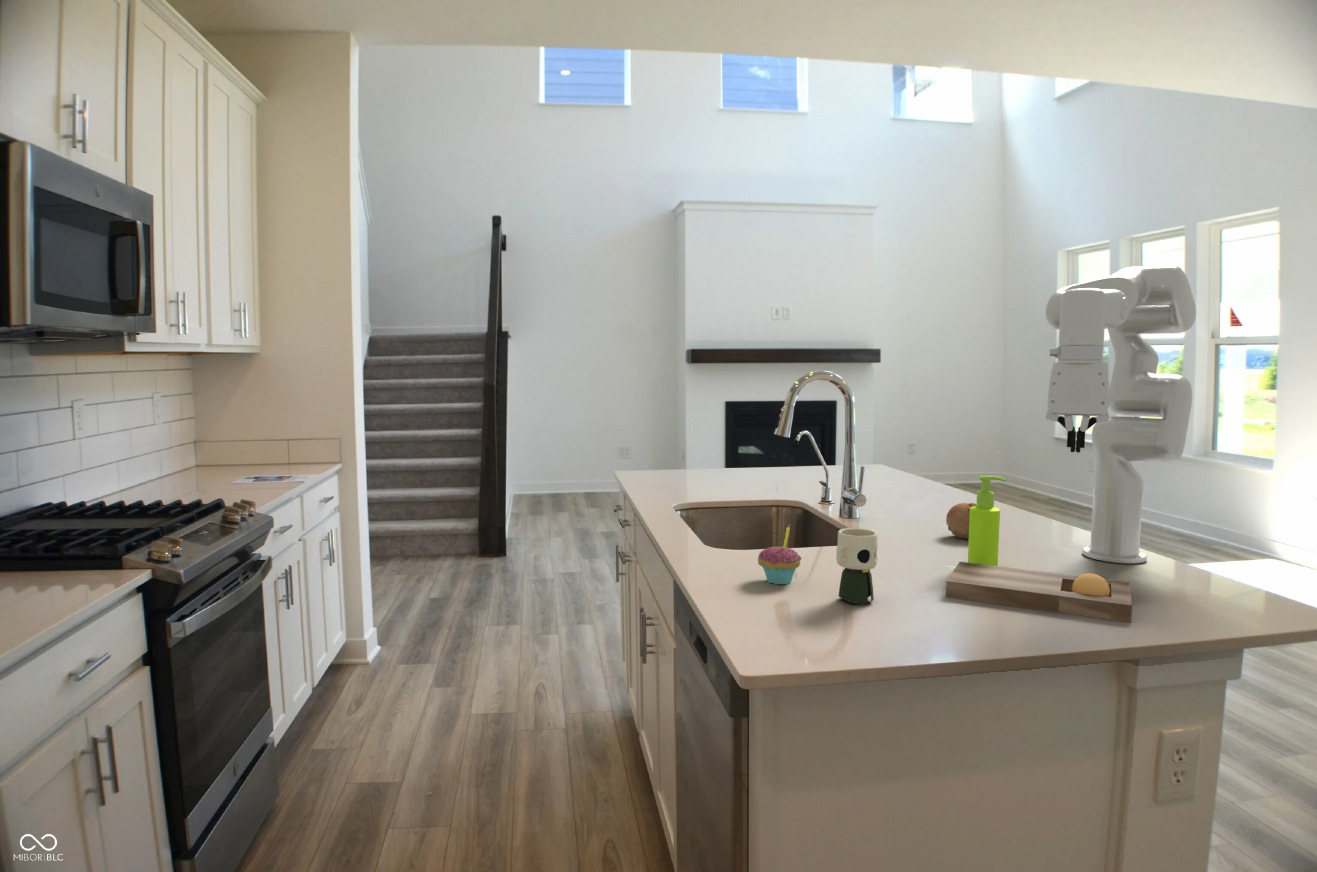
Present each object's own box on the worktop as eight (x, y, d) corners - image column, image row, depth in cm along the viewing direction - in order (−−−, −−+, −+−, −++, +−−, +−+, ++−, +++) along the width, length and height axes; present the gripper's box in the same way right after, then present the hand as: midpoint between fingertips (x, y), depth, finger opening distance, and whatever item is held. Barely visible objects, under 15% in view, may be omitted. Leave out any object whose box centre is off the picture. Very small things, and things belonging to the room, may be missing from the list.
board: (959, 575, 162) (959, 561, 162) (1128, 597, 148) (1129, 581, 148) (945, 596, 149) (946, 580, 148) (1131, 622, 134) (1132, 605, 134)
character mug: (852, 611, 140) (853, 539, 138) (821, 601, 145) (822, 532, 144) (890, 600, 146) (892, 531, 145) (859, 591, 152) (861, 524, 151)
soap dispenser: (1005, 573, 164) (1009, 478, 162) (970, 572, 165) (974, 477, 163) (999, 566, 170) (1003, 474, 168) (965, 564, 171) (968, 473, 169)
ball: (1092, 576, 139) (1099, 563, 143) (1061, 588, 143) (1069, 575, 147) (1113, 605, 138) (1120, 591, 142) (1082, 617, 142) (1089, 603, 146)
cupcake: (805, 578, 160) (806, 520, 159) (793, 589, 153) (794, 529, 152) (764, 573, 164) (765, 517, 163) (751, 584, 156) (752, 525, 155)
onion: (980, 552, 194) (998, 519, 190) (943, 541, 194) (961, 509, 189) (971, 530, 203) (988, 499, 198) (936, 520, 202) (952, 488, 198)
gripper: (1035, 355, 149) (1030, 451, 151) (1126, 355, 142) (1120, 456, 144) (1038, 355, 156) (1033, 447, 158) (1125, 355, 149) (1120, 451, 150)
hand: (1075, 451), depth 151 cm, fingers closed
